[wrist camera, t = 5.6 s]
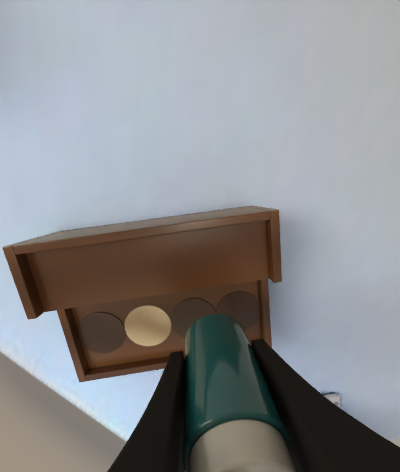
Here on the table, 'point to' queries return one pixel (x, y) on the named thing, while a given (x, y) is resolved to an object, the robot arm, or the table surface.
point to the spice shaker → (229, 404)
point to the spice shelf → (149, 283)
